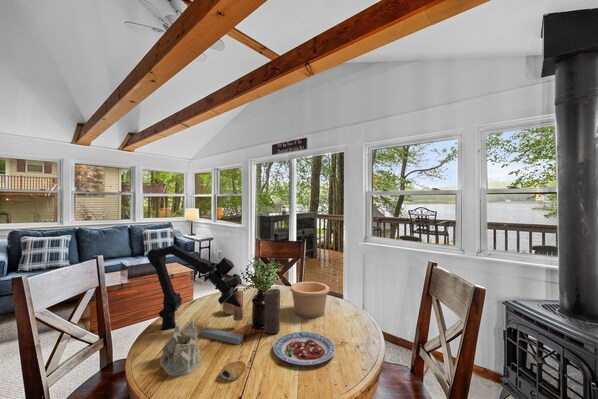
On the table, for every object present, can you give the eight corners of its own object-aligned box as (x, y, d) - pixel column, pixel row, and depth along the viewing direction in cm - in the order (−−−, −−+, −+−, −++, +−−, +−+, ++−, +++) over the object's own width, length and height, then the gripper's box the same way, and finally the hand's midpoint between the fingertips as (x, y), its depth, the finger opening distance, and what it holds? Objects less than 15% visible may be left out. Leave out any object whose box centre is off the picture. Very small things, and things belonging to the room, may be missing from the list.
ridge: (200, 336, 127) (200, 330, 127) (206, 332, 130) (206, 327, 130) (238, 344, 120) (238, 338, 120) (242, 340, 123) (242, 335, 123)
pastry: (236, 364, 106) (237, 354, 106) (250, 369, 103) (250, 359, 103) (218, 377, 98) (218, 366, 98) (232, 384, 95) (232, 372, 95)
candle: (277, 336, 128) (277, 293, 128) (262, 334, 129) (262, 291, 129) (281, 329, 135) (282, 288, 135) (267, 327, 137) (267, 287, 137)
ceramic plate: (325, 334, 131) (325, 328, 131) (343, 366, 105) (344, 359, 105) (271, 338, 126) (271, 332, 126) (276, 373, 101) (276, 365, 101)
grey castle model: (169, 350, 115) (170, 315, 114) (208, 354, 113) (209, 318, 112) (145, 376, 99) (146, 335, 98) (189, 381, 98) (190, 340, 97)
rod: (232, 317, 137) (233, 291, 137) (241, 316, 139) (241, 290, 139) (234, 321, 133) (234, 294, 133) (243, 319, 135) (244, 293, 135)
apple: (241, 312, 154) (241, 298, 154) (228, 317, 147) (228, 302, 147) (232, 308, 160) (232, 294, 160) (218, 313, 153) (219, 298, 153)
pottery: (295, 322, 143) (295, 294, 143) (286, 306, 164) (287, 282, 164) (334, 319, 148) (334, 292, 148) (321, 304, 169) (321, 280, 169)
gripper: (225, 275, 127) (249, 299, 127) (235, 265, 145) (256, 287, 145) (208, 291, 127) (231, 316, 127) (220, 280, 145) (240, 301, 145)
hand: (241, 304), depth 136 cm, fingers closed on rod, 4 cm apart
